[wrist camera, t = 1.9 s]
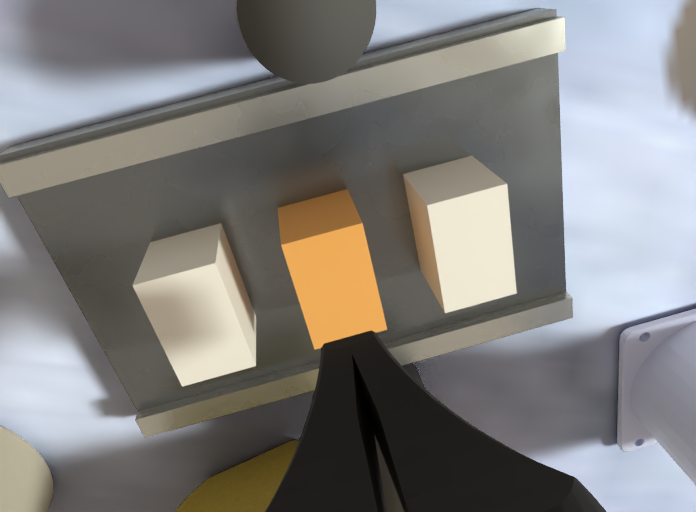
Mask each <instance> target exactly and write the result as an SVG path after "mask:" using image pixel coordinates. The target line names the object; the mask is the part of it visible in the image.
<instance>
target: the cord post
mask: <svg viewBox="0 0 696 512" xmlns="http://www.w3.org/2000/svg"><path fill="white" fill-rule="evenodd" d="M237 16H238V22H239V26H240V30H241V33H242V36H243V38H244V40H245V42H246V44H247V46H248V48H249V50H250V51H251V53H252V54H253V56H254V57H255V58H256V59H257V60H258V61H259V62H260V63H261V64H262V65H263V66H264V67H265V68H266V69H267V70H269V71H270V72H272V73H273V74H275V75H277V76H279V77H281V78H283V79H285V80H288V81H291V82H296V83H303V84H315V83H321V82H325V81H328V80H331V79H334V78H336V77H338V76H340V75H341V74H343V73H344V72H346V71H347V70H349V69H350V68H351V67H352V66H353V65H354V64H355V63H356V62H357V61H358V60H359V59H360V57H361V56H362V54H363V53H364V51H365V50H366V48H367V46H368V44H369V42H370V39H371V36H372V34H373V30H374V26H375V19H376V0H237Z"/></svg>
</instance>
